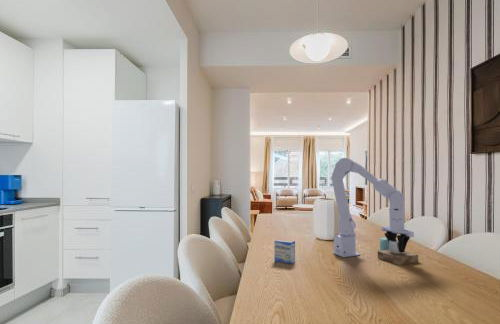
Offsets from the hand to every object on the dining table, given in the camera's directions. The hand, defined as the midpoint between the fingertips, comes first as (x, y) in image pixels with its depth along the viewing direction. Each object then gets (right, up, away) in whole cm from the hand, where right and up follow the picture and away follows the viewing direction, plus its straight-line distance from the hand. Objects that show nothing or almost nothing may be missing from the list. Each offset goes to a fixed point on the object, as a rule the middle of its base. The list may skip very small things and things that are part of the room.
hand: (397, 250), depth 126 cm
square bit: (0, -2, 0) cm, 2 cm away
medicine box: (-48, -4, -2) cm, 49 cm away
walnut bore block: (0, -4, 0) cm, 4 cm away
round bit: (+2, -5, +14) cm, 14 cm away
